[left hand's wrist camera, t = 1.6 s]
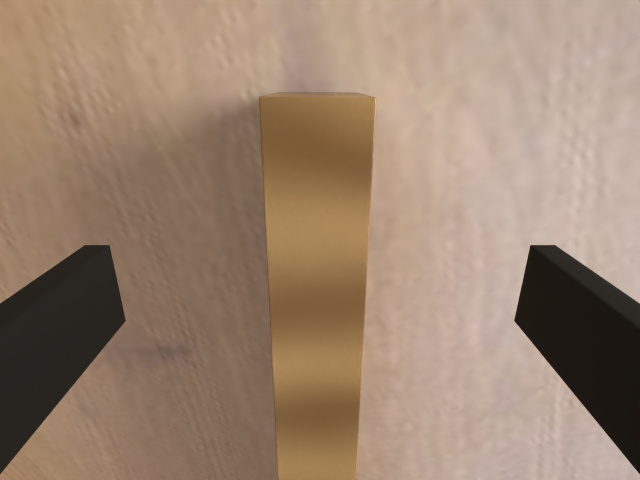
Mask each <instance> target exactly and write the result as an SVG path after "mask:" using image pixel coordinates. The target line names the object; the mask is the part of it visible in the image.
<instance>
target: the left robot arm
mask: <svg viewBox="0 0 640 480" xmlns="http://www.w3.org/2000/svg"><path fill="white" fill-rule="evenodd" d="M125 321H126V320H125V315H124V311H123V306H122V301H121V297H120V292H119V287H118V283H117V278H116V273H115V269H114V264H113V259H112V255H111V250H110V245H85V246H83V247H82V248H80V249H79V250H77V251H76V252H74V253H73V254H72V255H70V256H69V257H67V258H66V259H64V260H63V261H61V262H60V263H59V264H57V265H56V266H54V267H53V268H51V269H50V270H48V271H47V272H45V273H44V274H43V275H41V276H40V277H38V278H37V279H35V280H34V281H32V282H31V283H30V284H28V285H27V286H25V287H24V288H22V289H21V290H19V291H18V292H16V293H15V294H14V295H12V296H11V297H9V298H8V299H6V300H5V301H3V302H2V303H1V304H0V474H1V473H2V471H3V470H4V469H5V468H6V466H7V465H8V464H9V463H10V462H11V460H12V459H13V458H14V457H15V455H16V454H17V453H18V452H19V451H20V449H21V448H22V447H23V446H24V444H25V443H26V442H27V441H28V440H29V438H30V437H31V436H32V435H33V433H34V432H35V431H36V430H37V429H38V427H39V426H40V425H41V424H42V422H43V421H44V420H45V419H46V417H47V416H48V415H49V414H50V413H51V411H52V410H53V409H54V408H55V406H56V405H57V404H58V403H59V402H60V400H61V399H62V398H63V397H64V395H65V394H66V393H67V392H68V391H69V389H70V388H71V387H72V386H73V384H74V383H75V382H76V381H77V380H78V378H79V377H80V376H81V375H82V373H83V372H84V371H85V370H86V369H87V367H88V366H89V365H90V364H91V362H92V361H93V360H94V359H95V358H96V356H97V355H98V354H99V353H100V351H101V350H102V349H103V348H104V347H105V345H106V344H107V343H108V342H109V340H110V339H111V338H112V337H113V336H114V334H115V333H116V332H117V331H118V329H119V328H120V327H121V326H122V325H123V323H124V322H125ZM514 321H515V322H516V323H517V325H518V326H519V327H520V328H521V329H522V331H523V332H524V333H525V334H526V336H527V337H528V338H529V339H530V340H531V342H532V343H533V344H534V345H535V347H536V348H537V349H538V350H539V351H540V353H541V354H542V355H543V356H544V358H545V359H546V360H547V361H548V362H549V364H550V365H551V366H552V367H553V369H554V370H555V371H556V372H557V373H558V375H559V376H560V377H561V378H562V380H563V381H564V382H565V383H566V384H567V386H568V387H569V388H570V389H571V391H572V392H573V393H574V394H575V395H576V397H577V398H578V399H579V400H580V402H581V403H582V404H583V405H584V406H585V408H586V409H587V410H588V411H589V413H590V414H591V415H592V416H593V417H594V419H595V420H596V421H597V422H598V424H599V425H600V426H601V427H602V429H603V430H604V431H605V432H606V433H607V435H608V436H609V437H610V438H611V440H612V441H613V442H614V443H615V444H616V446H617V447H618V448H619V449H620V451H621V452H622V453H623V454H624V455H625V457H626V458H627V459H628V460H629V462H630V463H631V464H632V465H633V466H634V468H635V469H636V470H637V471H638V473H639V474H640V304H639V303H638V302H637V301H635V300H634V299H632V298H631V297H629V296H628V295H626V294H625V293H624V292H622V291H621V290H619V289H618V288H616V287H615V286H613V285H612V284H610V283H609V282H608V281H606V280H605V279H603V278H602V277H600V276H599V275H597V274H596V273H595V272H593V271H592V270H590V269H589V268H587V267H586V266H584V265H583V264H581V263H580V262H579V261H577V260H576V259H574V258H573V257H571V256H570V255H568V254H567V253H566V252H564V251H563V250H561V249H560V248H558V247H557V246H555V245H530V250H529V255H528V259H527V264H526V269H525V273H524V278H523V283H522V287H521V292H520V297H519V301H518V306H517V311H516V315H515V320H514Z"/></svg>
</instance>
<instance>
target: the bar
mask: <svg viewBox="0 0 640 480" xmlns="http://www.w3.org/2000/svg"><path fill="white" fill-rule="evenodd" d="M259 104H260V124H261V144H262V165H263V185H264V205H265V225H266V245H267V265H268V285H269V305H270V325H271V345H272V365H273V386H274V406H275V426H276V446H277V466H278V480H356V464H357V446H358V427H359V408H360V390H361V371H362V352H363V334H364V315H365V296H366V278H367V259H368V240H369V222H370V203H371V184H372V166H373V147H374V128H375V110H376V98H375V97H372V96H368V95H364V94H360V93H275V94H270V95H266V96H262V97H259Z"/></svg>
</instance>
